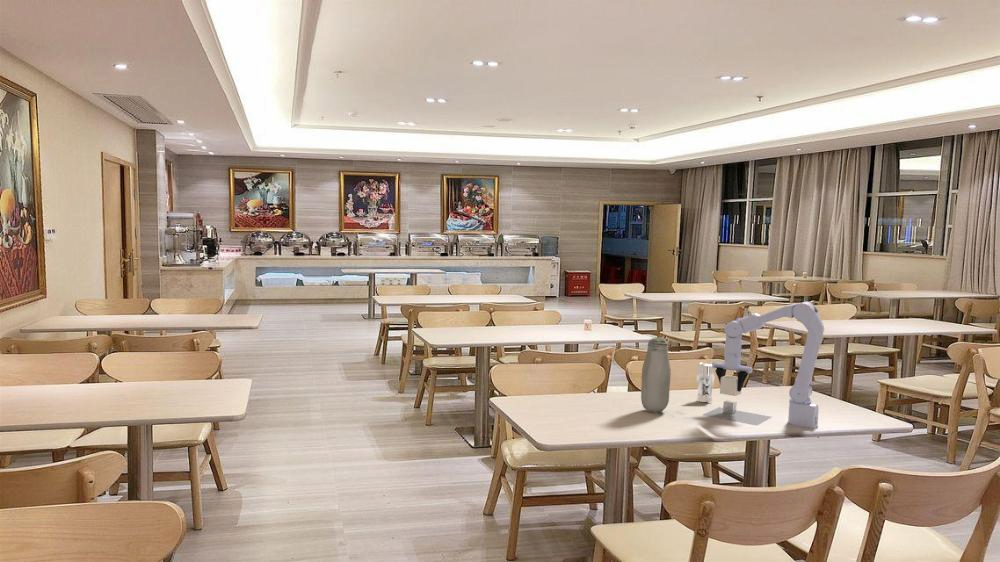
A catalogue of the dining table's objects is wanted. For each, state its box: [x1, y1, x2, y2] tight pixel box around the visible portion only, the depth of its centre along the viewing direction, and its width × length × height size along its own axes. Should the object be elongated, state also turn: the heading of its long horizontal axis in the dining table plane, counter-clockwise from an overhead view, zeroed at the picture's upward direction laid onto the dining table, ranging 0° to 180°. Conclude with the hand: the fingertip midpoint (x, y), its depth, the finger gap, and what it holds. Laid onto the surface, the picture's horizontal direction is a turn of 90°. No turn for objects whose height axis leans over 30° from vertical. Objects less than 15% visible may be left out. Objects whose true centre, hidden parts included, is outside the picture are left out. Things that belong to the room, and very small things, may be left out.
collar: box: [719, 374, 742, 397], centre depth 270 cm, size 6×6×6 cm
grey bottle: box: [640, 336, 672, 413], centre depth 272 cm, size 10×10×28 cm
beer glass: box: [696, 362, 716, 403], centre depth 292 cm, size 7×7×15 cm
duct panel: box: [702, 406, 772, 426], centre depth 266 cm, size 20×16×1 cm
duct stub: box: [722, 399, 738, 414], centre depth 270 cm, size 4×4×5 cm
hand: (730, 389), depth 270 cm, fingers closed on collar, 6 cm apart
